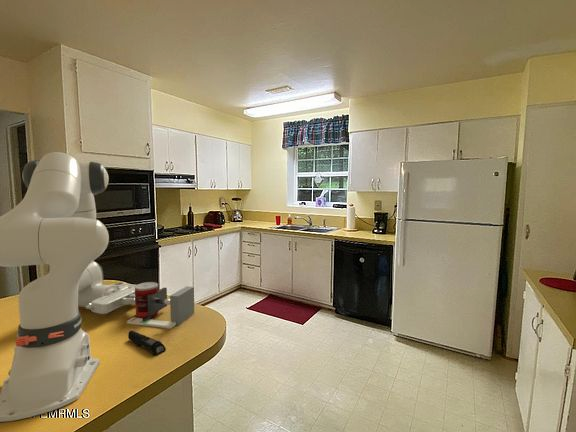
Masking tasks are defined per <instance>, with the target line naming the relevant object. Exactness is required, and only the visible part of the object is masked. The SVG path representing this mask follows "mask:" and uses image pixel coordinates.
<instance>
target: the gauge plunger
mask: <svg viewBox="0 0 576 432" xmlns="http://www.w3.org/2000/svg"><path fill="white" fill-rule="evenodd" d="M167 289H168V288H167V287H162V288H160V289H158V291H156V292H154V293H152V294H150V295H148V296H147V298H148V316H146V317H145V318H143V321H146V320H148V319H151V318H152V317H151V315H153V314H154V313H156V312H158V313H159V312H160V311H161V310H162V309H164V308H166V307H167V306H168V305H169V306H170V298H169V299H168V293H167V291H168V290H167Z"/></svg>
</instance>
